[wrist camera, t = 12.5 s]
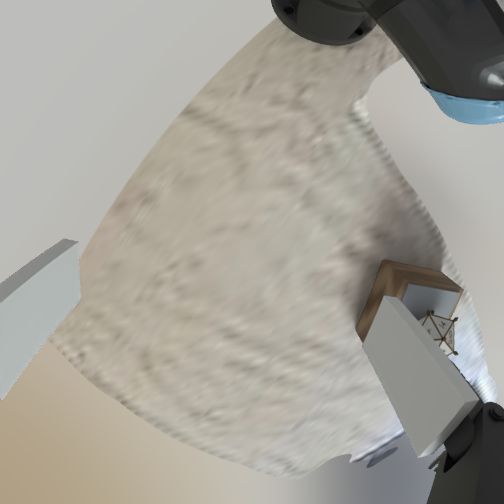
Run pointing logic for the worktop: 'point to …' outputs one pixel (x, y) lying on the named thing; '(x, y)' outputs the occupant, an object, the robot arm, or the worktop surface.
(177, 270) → the worktop surface
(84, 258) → the worktop surface
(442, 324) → the game die
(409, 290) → the walnut base block
